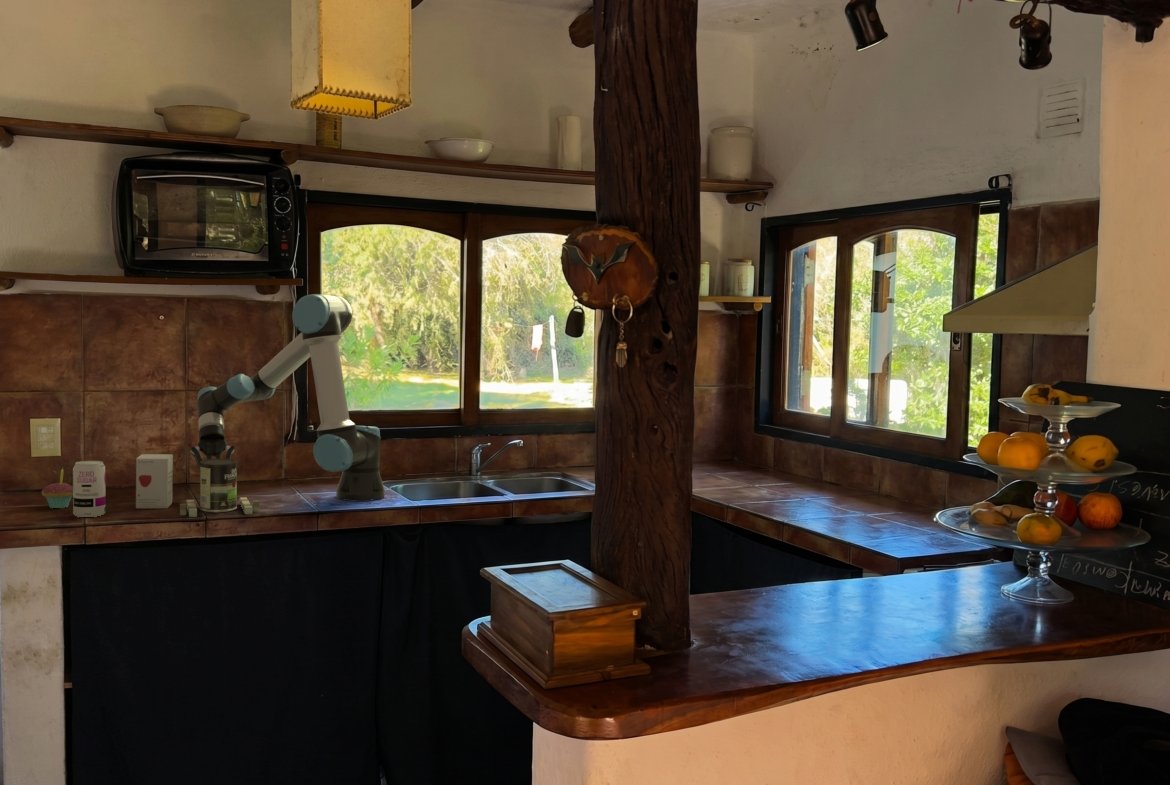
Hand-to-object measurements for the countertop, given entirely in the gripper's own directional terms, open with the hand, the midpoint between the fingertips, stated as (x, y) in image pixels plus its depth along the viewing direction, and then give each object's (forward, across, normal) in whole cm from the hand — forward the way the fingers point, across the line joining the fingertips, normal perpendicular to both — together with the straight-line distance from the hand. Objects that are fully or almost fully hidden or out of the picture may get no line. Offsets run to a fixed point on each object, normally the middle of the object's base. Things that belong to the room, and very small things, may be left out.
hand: (215, 493), depth 305 cm
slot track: (+7, -1, +2) cm, 8 cm away
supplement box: (0, +17, -6) cm, 18 cm away
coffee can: (+6, -1, +1) cm, 6 cm away
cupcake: (-3, +42, -9) cm, 43 cm away
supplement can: (+7, +34, +1) cm, 34 cm away
